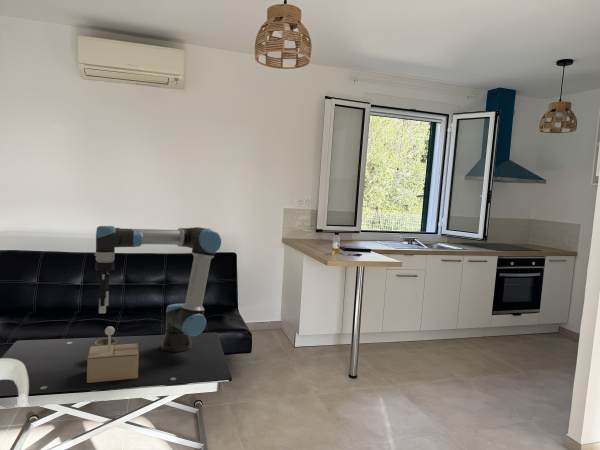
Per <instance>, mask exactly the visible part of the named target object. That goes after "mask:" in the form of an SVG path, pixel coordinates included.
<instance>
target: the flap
mask: <svg viewBox="0 0 600 450" xmlns="http://www.w3.org/2000/svg"><path fill="white" fill-rule="evenodd" d="M104 333H105V335H107V337H108V338H107V339H108V345H107V346H96V345H91V346H90V348H89V351H88V355H89V356H87V359H88V358H100V357H113V352H114V345H111V339H112V336H113V335H114V334H115V328H114V327H113V326H111V325H109V326H106V328H105V329H104Z"/></svg>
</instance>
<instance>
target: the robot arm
mask: <svg viewBox="0 0 600 450" xmlns="http://www.w3.org/2000/svg"><path fill="white" fill-rule="evenodd" d="M95 233H96V234H95V253H94V254H93V255H94V256H95V267H94V269H95V271H96V272H100V274H99V277H98V278H99V288H98V289H99V291H98V296H96V297H97V299H98V314H106V313H107V307H108V306H109V292H110V291H111V288H110V276H111V275H110V273H109V272H111V271H114V270H115V256H116V254H115V253H116V251H115V249H116V248H137V247H138V248H139V247H141V246H142V245H169V246H170V245H175V246H176V245H177V247H182V248H183V247H184V248H189V249H191V254H192V256H193V261H192V266H191V270H190V271H191V272H190V274H189V275H190V276H189V280H188V281H189V282H188V285H187V286H188V287H187V292H186V298H185V302H184V303H173V304H169V305H167V306H166V310H165V334H164V336H163V339H162V342H161V349H162V350H163V351H165V352H172V353H178V352H184V351H188V350H190V349H191V348H192V340H191V337H197V336H199V335H200V334H201V333H203V332H204V331H205V329H206V326H207V319H206V317H205V316H204V314H205V308H204V305H203V304H204V303H203V302H204V298H205V293H206V289H207V288H206V287H207V281H208V277H209V271H210V266H211V261H212V259H214V258H215V257H216V256H215V255H216V252H217V251H218V250H219V249H221V246H222V238H221V236H220V234H219V233H218V231H216V230H214V229H211V228H206V227H185V228H183V227H179V228H177V229H157V228H155V229H154V228H153V229H152V228H151V229H150V228H120V227H115V226H114V225H113V226H112V225H99V226H97V228H96V231H95Z"/></svg>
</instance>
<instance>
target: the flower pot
mask: <svg viewBox="0 0 600 450" xmlns="http://www.w3.org/2000/svg"><path fill="white" fill-rule="evenodd" d="M117 341H118V340H117V339H115V338H111V345H114V347H115V345H117V344H116V343H117ZM94 343H95V346H107V345H108V338H102V339H97V340H96V341H95V342H94Z"/></svg>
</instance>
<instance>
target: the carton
mask: <svg viewBox="0 0 600 450" xmlns="http://www.w3.org/2000/svg"><path fill="white" fill-rule="evenodd" d="M88 356H89V354H88ZM88 356H87V361H86V362H87V367H86V369H87V370H86V384H87V383H89V384H90V383H101V382H109V381H110V382H113V381H121V380H131V379H138V378H139V357H140V355H139V345H138V343H126V344H115V347H114V352H113V357H100V358H88Z"/></svg>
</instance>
